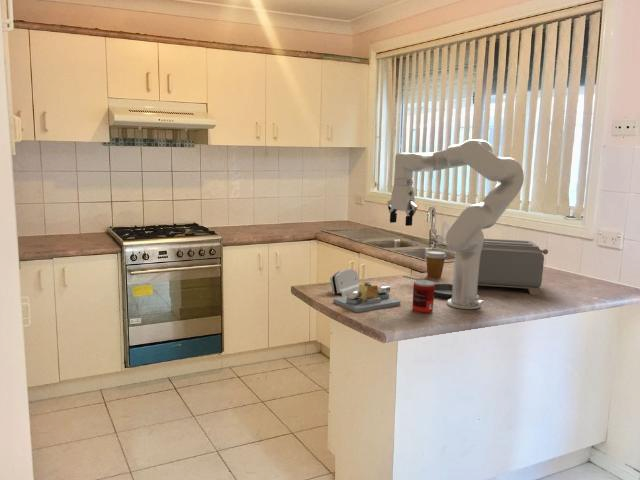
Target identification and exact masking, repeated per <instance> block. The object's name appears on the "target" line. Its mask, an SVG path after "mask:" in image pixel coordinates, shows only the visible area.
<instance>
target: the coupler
mask: <svg viewBox="0 0 640 480" xmlns="http://www.w3.org/2000/svg"><path fill="white" fill-rule="evenodd" d="M378 287H379V285H377V284H374V283H373V282H370V281H369V282H363V283H361V284H359V290H360V291H361V293H362V295H361V297H359V298H361V299H362V301H364V302H367V300H368V299H374V298H377V288H378Z"/></svg>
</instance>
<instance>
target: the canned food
mask: <svg viewBox="0 0 640 480" xmlns="http://www.w3.org/2000/svg"><path fill="white" fill-rule="evenodd" d="M435 284H436V283H435V282H434V281H432V280H428V279H420V280H414V281H413V291H412V308H411V309H412V311H413V312H414V313H418V314H423V315H424V314H431V313H432V312H433V310H434V301H435V300H434V299H435V296H434V288H435Z"/></svg>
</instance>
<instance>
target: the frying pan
mask: <svg viewBox="0 0 640 480" xmlns="http://www.w3.org/2000/svg"><path fill="white" fill-rule="evenodd" d="M402 278H406V279H412V280H414V281H416V280H421V279H420V278H414V277H411V276H405V275H402ZM452 285H453V283H452V284H450V283H435V288H434V297H435V298H436V297H437V298H440V299H445V300H448V299H451V298H452Z"/></svg>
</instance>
